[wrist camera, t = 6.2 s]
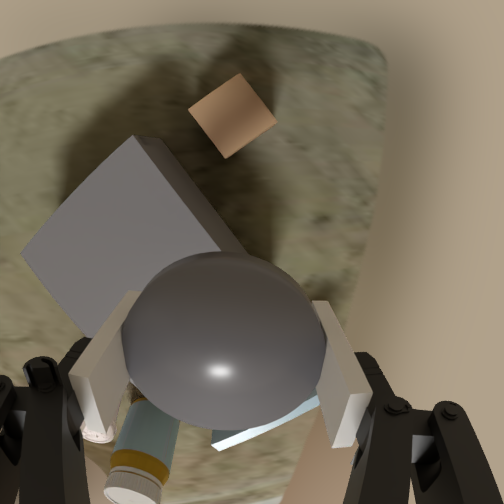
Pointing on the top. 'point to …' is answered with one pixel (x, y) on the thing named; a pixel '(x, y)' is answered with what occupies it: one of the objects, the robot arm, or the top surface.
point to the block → (232, 115)
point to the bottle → (142, 455)
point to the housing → (123, 231)
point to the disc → (224, 341)
